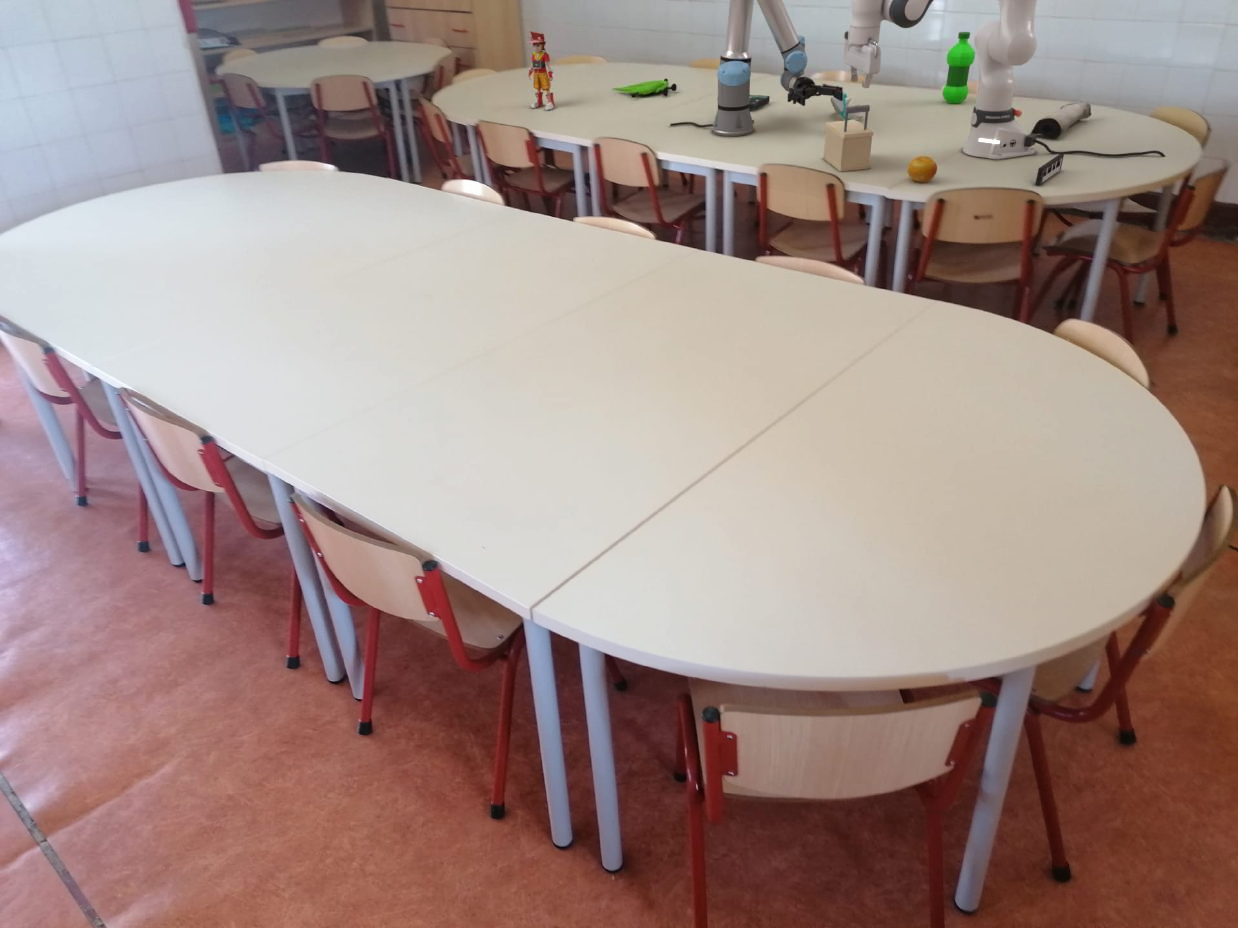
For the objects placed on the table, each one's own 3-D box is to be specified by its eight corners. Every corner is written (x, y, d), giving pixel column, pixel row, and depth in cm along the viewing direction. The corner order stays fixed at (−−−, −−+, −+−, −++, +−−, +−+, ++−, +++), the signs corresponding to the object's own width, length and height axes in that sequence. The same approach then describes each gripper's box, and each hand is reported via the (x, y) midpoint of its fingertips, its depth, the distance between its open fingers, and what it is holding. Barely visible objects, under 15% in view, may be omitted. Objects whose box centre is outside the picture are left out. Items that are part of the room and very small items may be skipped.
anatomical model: (825, 90, 346) (851, 83, 346) (828, 117, 352) (853, 110, 352) (836, 99, 334) (863, 92, 333) (839, 127, 340) (865, 120, 339)
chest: (868, 168, 292) (872, 135, 286) (840, 171, 291) (843, 138, 285) (850, 155, 304) (853, 124, 298) (823, 158, 303) (825, 126, 297)
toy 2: (686, 85, 398) (631, 84, 414) (685, 72, 395) (629, 72, 411) (651, 104, 381) (596, 103, 397) (650, 92, 378) (594, 91, 394)
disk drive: (754, 111, 359) (769, 102, 369) (754, 104, 357) (770, 95, 367) (731, 109, 364) (746, 100, 374) (731, 102, 362) (747, 93, 372)
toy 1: (525, 109, 381) (517, 32, 364) (534, 104, 388) (527, 28, 371) (550, 110, 377) (543, 32, 360) (559, 105, 384) (553, 28, 367)
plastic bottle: (973, 101, 354) (984, 32, 339) (955, 106, 349) (966, 36, 335) (952, 97, 361) (962, 29, 346) (934, 102, 356) (944, 33, 342)
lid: (873, 136, 285) (876, 107, 280) (843, 139, 284) (846, 110, 279) (854, 123, 298) (856, 96, 293) (825, 126, 297) (828, 98, 292)
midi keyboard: (1039, 185, 269) (1043, 168, 266) (1035, 184, 270) (1038, 168, 267) (1060, 170, 279) (1064, 154, 277) (1056, 169, 280) (1060, 153, 277)
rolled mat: (1058, 107, 328) (1083, 90, 320) (1071, 128, 329) (1097, 111, 320) (1025, 130, 311) (1051, 112, 303) (1040, 152, 311) (1065, 134, 303)
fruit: (901, 172, 275) (918, 148, 272) (903, 174, 283) (919, 151, 280) (924, 187, 274) (941, 164, 271) (925, 189, 282) (942, 166, 279)
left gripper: (834, 93, 332) (856, 106, 315) (769, 102, 330) (788, 115, 312) (835, 72, 328) (857, 83, 311) (769, 80, 326) (788, 92, 308)
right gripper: (888, 41, 263) (883, 90, 270) (861, 30, 279) (856, 77, 287) (868, 43, 262) (863, 92, 270) (841, 31, 279) (838, 79, 286)
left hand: (823, 99), depth 311 cm, fingers open, 13 cm apart
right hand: (859, 84), depth 279 cm, fingers open, 8 cm apart
